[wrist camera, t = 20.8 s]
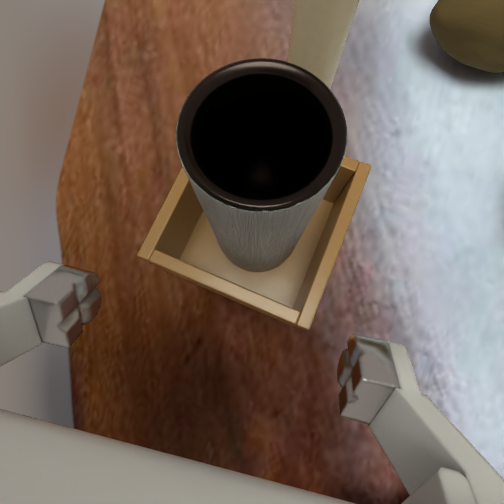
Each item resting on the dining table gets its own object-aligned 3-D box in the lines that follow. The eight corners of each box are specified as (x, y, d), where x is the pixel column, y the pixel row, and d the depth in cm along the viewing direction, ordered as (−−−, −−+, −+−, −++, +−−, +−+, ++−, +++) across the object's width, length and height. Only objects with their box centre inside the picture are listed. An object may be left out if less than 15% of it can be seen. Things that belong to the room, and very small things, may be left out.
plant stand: (182, 281, 30) (-522, -77, 3) (238, 163, 33) (158, -627, 5) (298, 332, 29) (984, 548, 2) (347, 205, 32) (933, -515, 4)
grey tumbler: (211, 264, 18) (155, 194, 8) (227, 191, 19) (196, 44, 9) (289, 279, 18) (336, 226, 8) (302, 204, 19) (358, 69, 8)
